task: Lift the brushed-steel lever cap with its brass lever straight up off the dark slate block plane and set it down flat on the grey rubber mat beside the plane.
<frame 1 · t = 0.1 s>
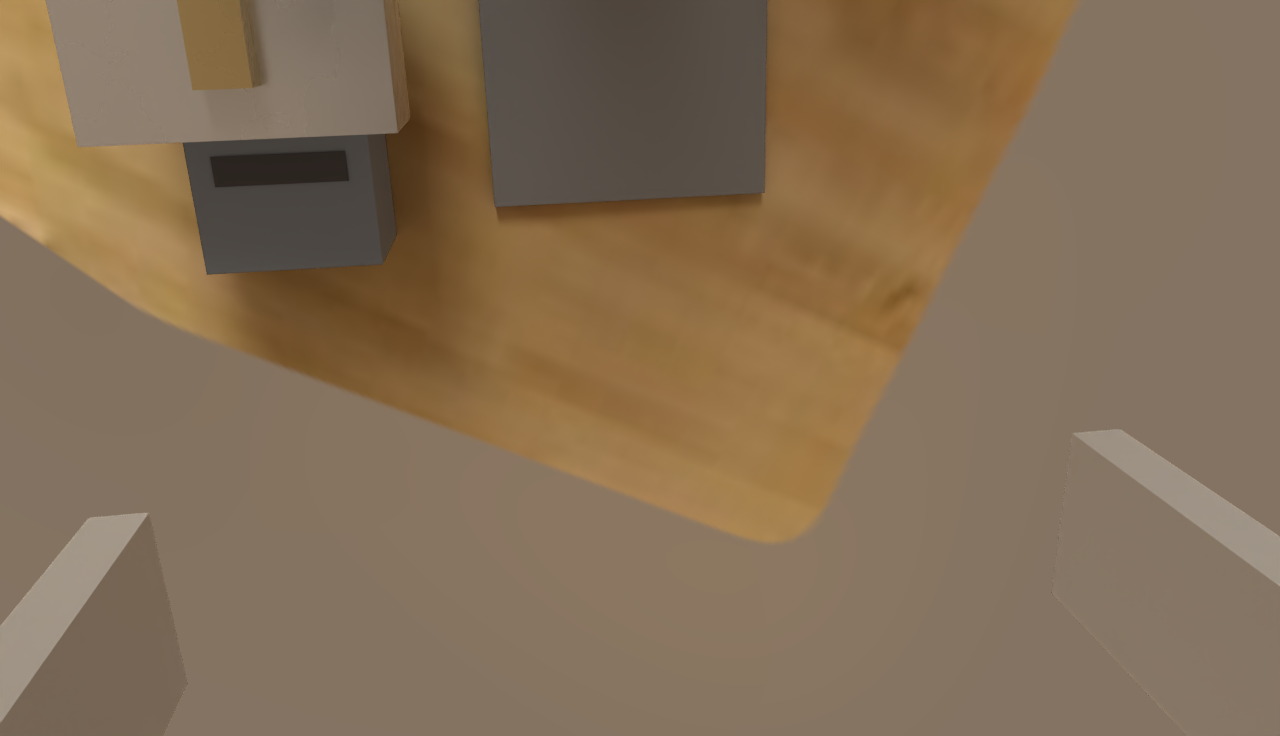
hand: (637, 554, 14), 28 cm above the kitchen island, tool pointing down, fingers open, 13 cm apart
block plane: (290, 26, 37), on the kitchen island
rubber mat: (624, 16, 38), on the kitchen island
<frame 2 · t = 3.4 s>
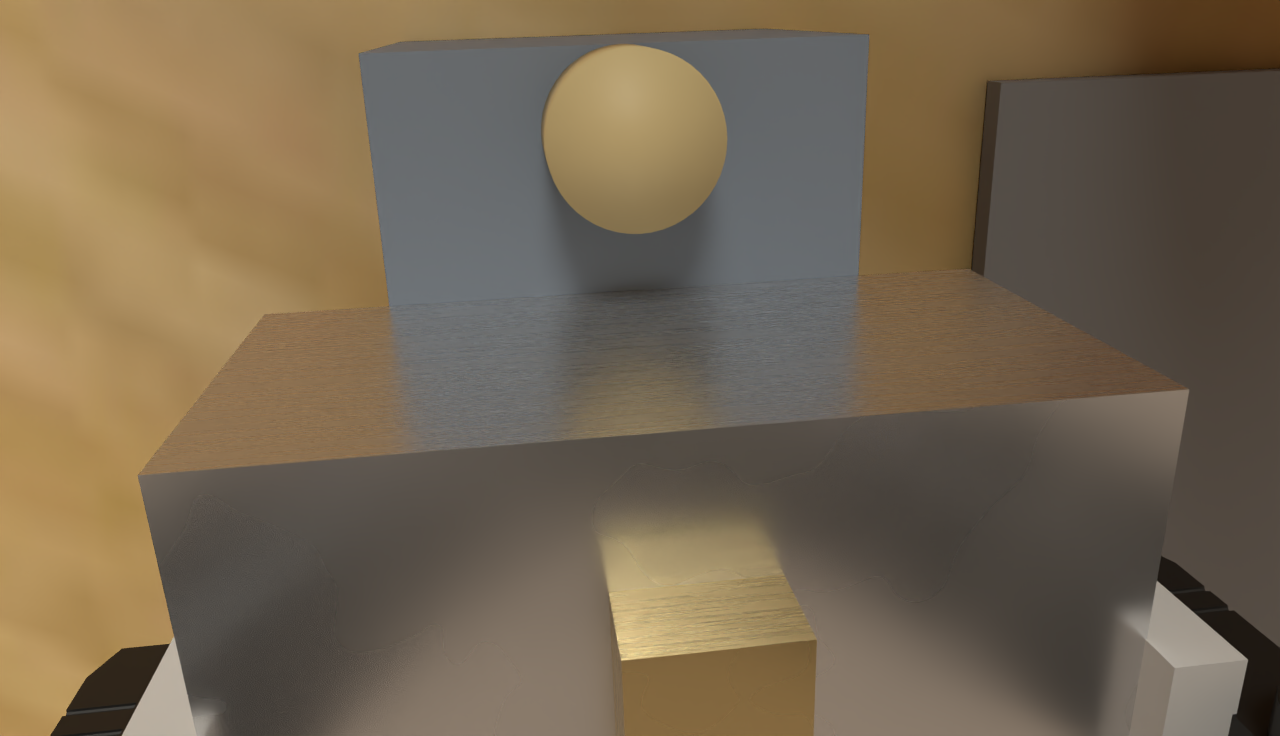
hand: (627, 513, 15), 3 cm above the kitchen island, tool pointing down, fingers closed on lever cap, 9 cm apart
lever cap: (640, 565, 14), point 5 cm above the kitchen island, touching block plane, gripper
block plane: (607, 475, 19), on the kitchen island
rubber mat: (1212, 423, 20), on the kitchen island
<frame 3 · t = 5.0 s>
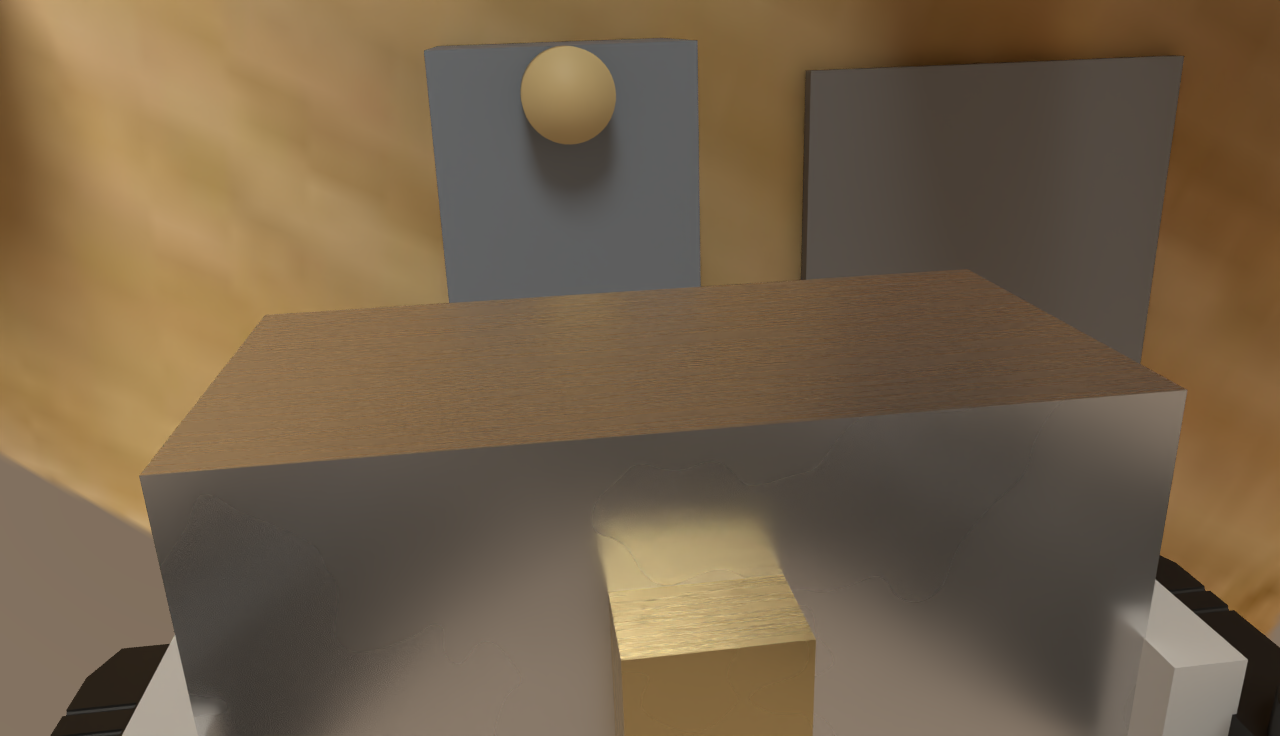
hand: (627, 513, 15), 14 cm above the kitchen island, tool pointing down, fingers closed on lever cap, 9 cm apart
lever cap: (640, 565, 14), point 16 cm above the kitchen island, touching gripper
block plane: (568, 328, 29), on the kitchen island
rubber mat: (974, 300, 30), on the kitchen island
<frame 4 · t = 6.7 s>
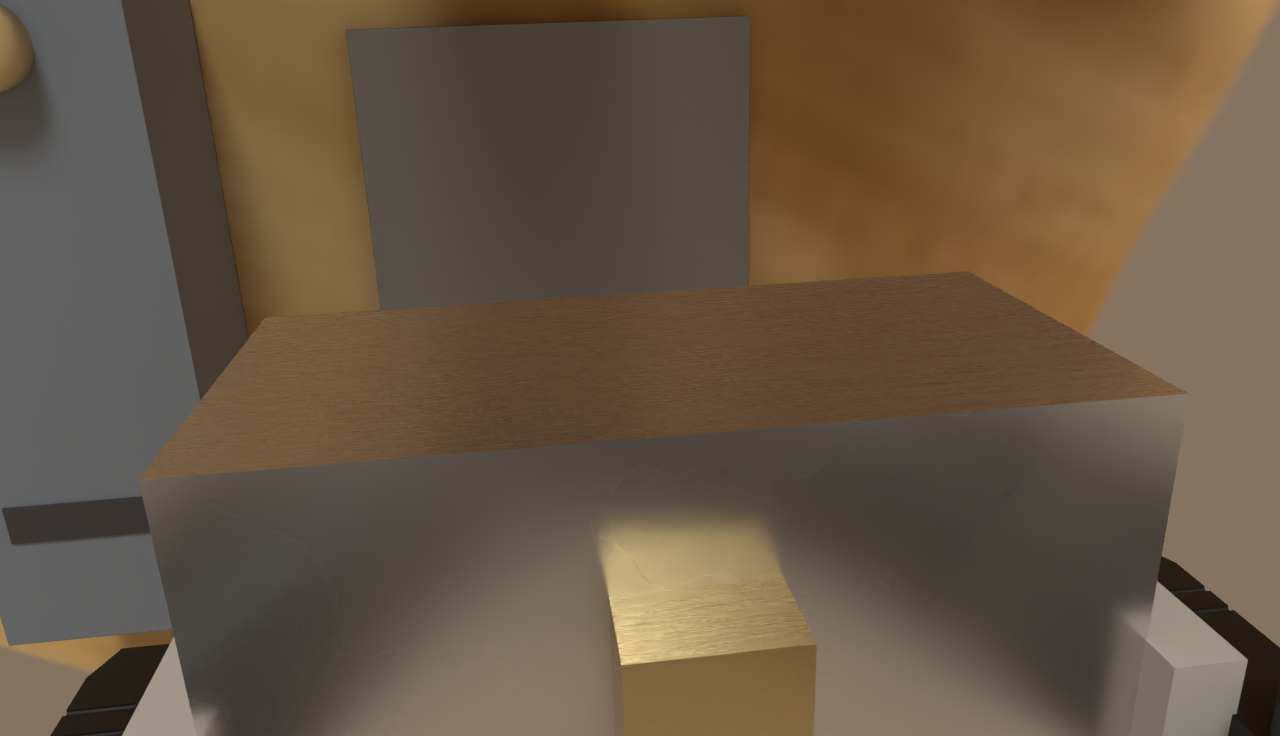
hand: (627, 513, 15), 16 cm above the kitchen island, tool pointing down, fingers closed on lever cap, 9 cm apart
lever cap: (640, 567, 14), point 17 cm above the kitchen island, touching gripper
block plane: (131, 295, 28), on the kitchen island
rubber mat: (566, 268, 30), on the kitchen island
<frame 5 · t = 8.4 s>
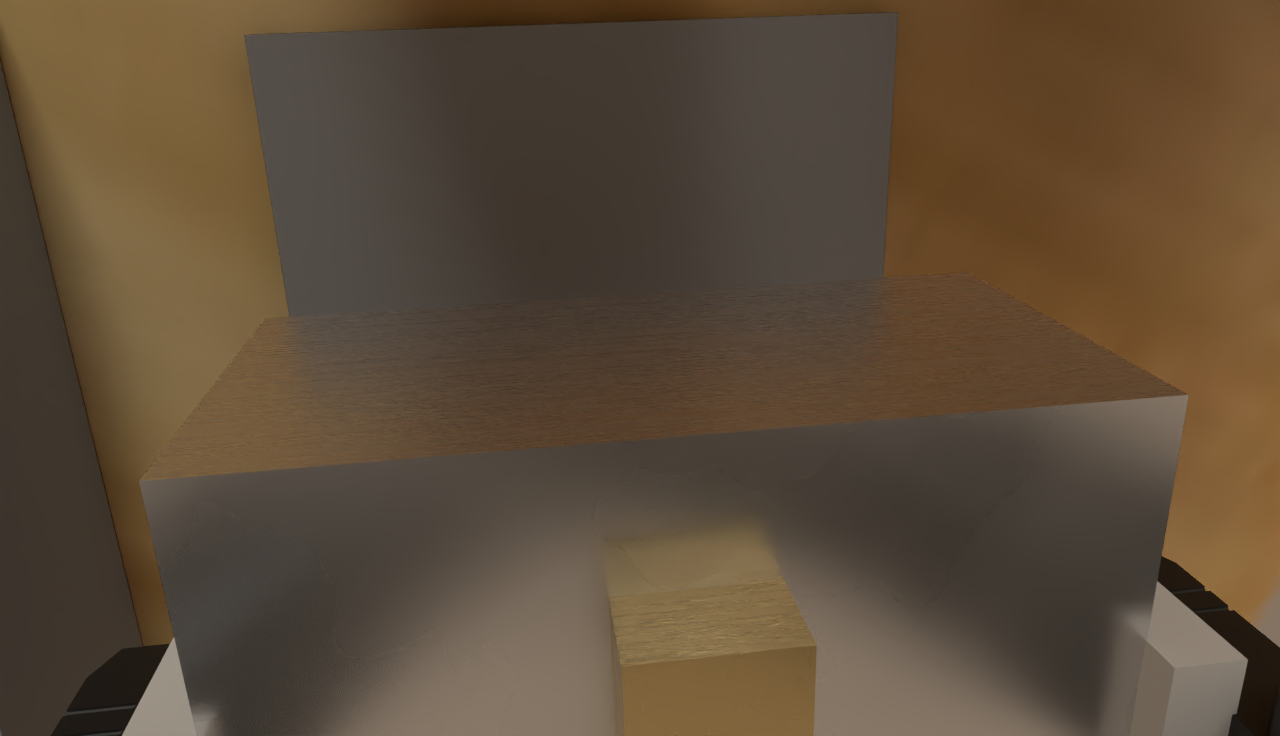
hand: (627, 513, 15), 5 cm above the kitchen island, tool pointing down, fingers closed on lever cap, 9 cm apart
lever cap: (640, 568, 14), point 6 cm above the kitchen island, touching gripper
rubber mat: (599, 398, 20), on the kitchen island
when the fingers open (2 cm above the kitchen island, at t = 9.9 s): lever cap drops 3 cm, resting on rubber mat.
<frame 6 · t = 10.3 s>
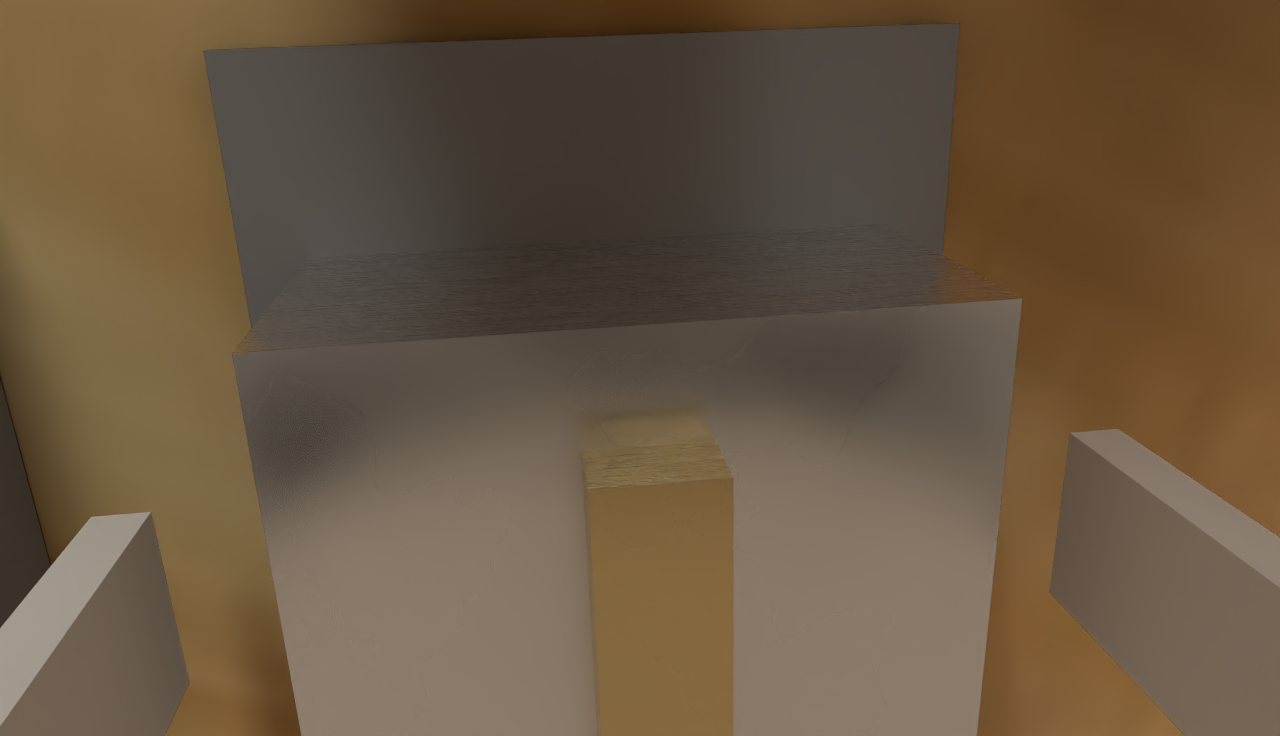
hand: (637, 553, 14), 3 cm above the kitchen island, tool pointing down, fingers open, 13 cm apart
lever cap: (616, 472, 17), resting on rubber mat
rubber mat: (613, 459, 17), on the kitchen island
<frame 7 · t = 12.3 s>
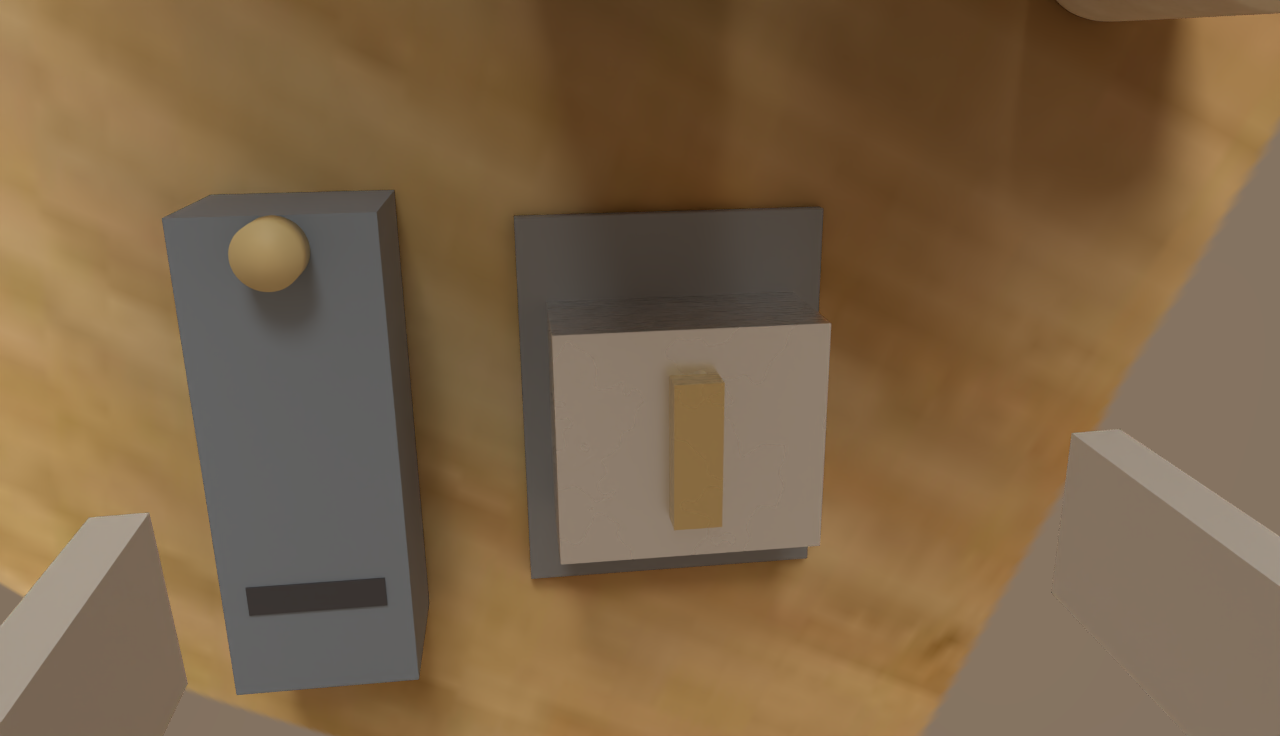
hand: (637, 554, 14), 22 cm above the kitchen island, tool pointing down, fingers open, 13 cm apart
lever cap: (671, 401, 37), resting on rubber mat
block plane: (328, 414, 36), on the kitchen island
rubber mat: (669, 396, 37), on the kitchen island
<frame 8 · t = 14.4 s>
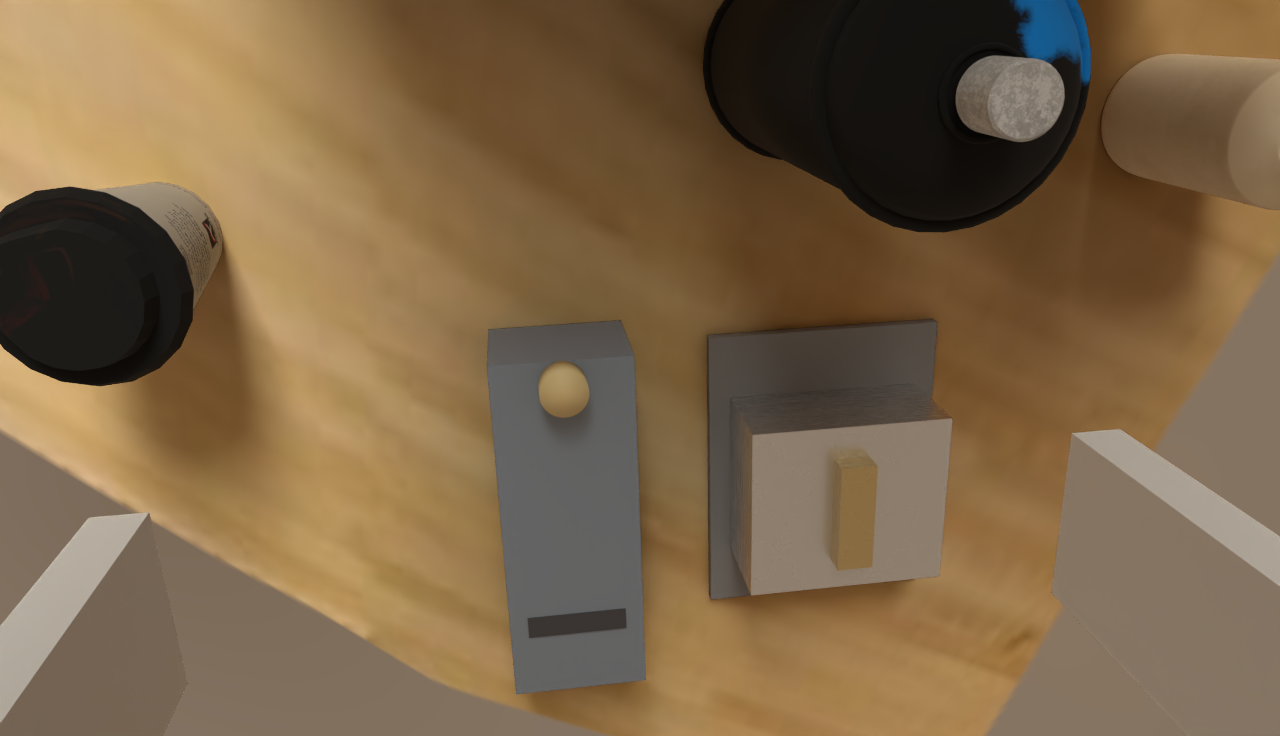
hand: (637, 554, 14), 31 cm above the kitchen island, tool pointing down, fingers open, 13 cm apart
lever cap: (819, 465, 49), resting on rubber mat
aerosol can: (794, 61, 43), on the kitchen island
candle: (1153, 115, 46), on the kitchen island
coffee cup: (166, 235, 42), on the kitchen island
block plane: (565, 483, 48), on the kitchen island
rubber mat: (817, 461, 49), on the kitchen island
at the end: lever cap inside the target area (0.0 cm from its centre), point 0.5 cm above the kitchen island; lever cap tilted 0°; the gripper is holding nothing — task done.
